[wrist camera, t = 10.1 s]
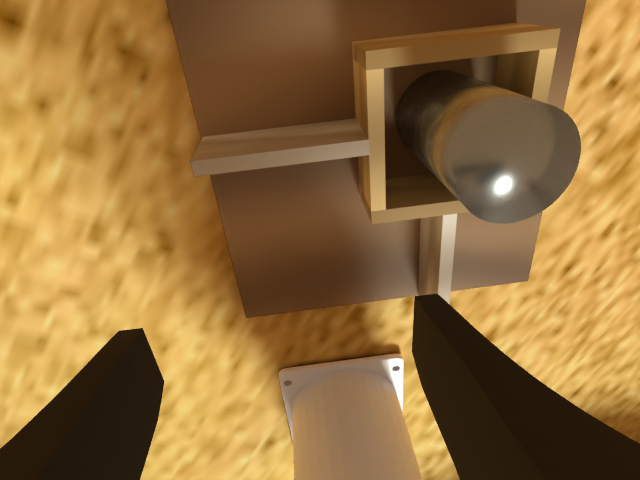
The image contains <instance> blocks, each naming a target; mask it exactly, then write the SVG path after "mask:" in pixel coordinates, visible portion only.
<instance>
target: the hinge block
mask: <svg viewBox="0 0 640 480" xmlns="http://www.w3.org/2000/svg"><path fill="white" fill-rule="evenodd" d="M166 2H167V6H168V10H169V14H170V18H171V22H172V26H173V30H174V34H175V38H176V42H177V46H178V50H179V54H180V58H181V62H182V66H183V70H184V74H185V78H186V81H187V85H188V89H189V93H190V97H191V101H192V105H193V109H194V113H195V117H196V121H197V125H198V129H199V133H200V137H201V141H200V143H199V145H198V147H197V149H196V151H195V153H194V155H193V157H192V158H191V160H190V164H191V167H192V171H193V175H194V177H196V176H204V175H210V176H211V180H212V184H213V188H214V192H215V196H216V200H217V204H218V208H219V212H220V216H221V220H222V224H223V228H224V232H225V236H226V240H227V244H228V248H229V252H230V256H231V260H232V263H233V267H234V271H235V275H236V279H237V283H238V287H239V291H240V295H241V299H242V303H243V307H244V311H245V315H246V318H250V317H257V316H265V315H273V314H280V313H288V312H295V311H303V310H311V309H318V308H326V307H334V306H341V305H349V304H356V303H364V302H372V301H379V300H387V299H395V298H402V297H410V296H418V295H419V296H420V295H429V294H439V295H440V296H441V297H442V298H443V299H444V300H445V301H446V302H447V303H448V304H449V303H450V292H451V291H456V290H463V289H471V288H479V287H486V286H494V285H501V284H509V283H517V282H524V281H528V278H529V273H530V269H531V264H532V259H533V254H534V249H535V244H536V240H537V235H538V230H539V225H540V220H541V216H542V211H541V212H540V213H538V214H536V215H534V216H532V217H530V218H528V219H525V220H522V221H519V222H514V223H507V224H498V223H491V222H487V221H484V220H481V219H479V218H478V217H476V216H474V215H473V214H472V213H471V212H469V210H468V209H467V208H466V207H465V206H464V205H463V204H462V203H461V202H460V201H459V200H458V199H457V198H456V197H455V196H454V195H453V194H452V193H451V192H450V191H449V190H448V189H447V187H446V186H445V185H444V184H443V183H442V182H441V181H440V180H439V179H438V178H437V177H436V176H435V175H434V174H433V173H432V172H431V171H430V170H429V169H428V168H427V167H426V166H425V165H424V163H423V162H422V161H421V160H420V159H419V158H418V157H417V156H416V155H415V154H414V153H413V152H412V151H411V150H410V149H409V148H408V147H407V146H406V145H405V144H404V142H403V141H402V140H401V138H400V136H399V134H398V131H397V128H396V110H397V106H398V103H399V100H400V98H401V96H402V94H403V93H404V91H405V90H406V89H407V87H408V86H409V85H410V84H411V83H412V82H413V81H414V80H416V79H417V78H418V77H420V76H422V75H424V74H426V73H428V72H431V71H435V70H450V71H454V72H457V73H460V74H463V75H466V76H469V77H471V78H474V79H477V80H480V81H483V82H486V83H489V84H492V85H495V86H498V87H501V88H503V89H506V90H509V91H512V92H515V93H518V94H521V95H524V96H527V97H530V98H532V99H535V100H538V101H541V102H544V103H547V104H550V105H553V106H555V107H557V108H559V109H561V110H564V105H565V100H566V95H567V90H568V86H569V81H570V76H571V71H572V66H573V62H574V57H575V52H576V47H577V42H578V37H579V33H580V28H581V23H582V18H583V13H584V9H585V4H586V0H166Z"/></svg>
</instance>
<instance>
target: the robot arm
mask: <svg viewBox="0 0 640 480" xmlns="http://www.w3.org/2000/svg"><path fill="white" fill-rule="evenodd" d="M412 353H413V357H414V360H415V364H416V367H417V371H418V374H419V378H420V381H421V385H422V388H423V390H424V393H425V395H426V398H427V400H428V402H429V405H430V407H431V410H432V412H433V415H434V417H435V419H436V422H437V424H438V427H439V429H440V431H441V434H442V436H443V439H444V441H445V443H446V446H447V448H448V450H449V453H450V455H451V458H452V460H453V462H454V465H455V467H456V470H457V473H458V475H459V478H460V480H640V444H639V443H637V442H635V441H634V440H632V439H630V438H628V437H626V436H625V435H623V434H621V433H620V432H618V431H616V430H615V429H613V428H611V427H609V426H608V425H606V424H604V423H603V422H601V421H599V420H598V419H596V418H594V417H593V416H591V415H589V414H588V413H586V412H585V411H583V410H581V409H580V408H578V407H577V406H575V405H574V404H572V403H571V402H569V401H568V400H566V399H565V398H563V397H562V396H560V395H559V394H557V393H556V392H554V391H553V390H551V389H550V388H549V387H547V386H546V385H544V384H543V383H541V382H540V381H539V380H537V379H536V378H535V377H533V376H532V375H531V374H529V373H528V372H527V371H526V370H524V369H523V368H522V367H520V366H519V365H518V364H517V363H515V362H514V361H513V360H512V359H510V358H509V357H508V356H507V355H505V354H504V353H503V352H502V351H501V350H499V349H498V348H497V347H496V346H495V345H494V344H492V343H491V342H490V341H489V340H488V339H487V338H485V337H484V336H483V335H482V334H481V333H480V332H479V331H477V330H476V329H475V328H474V327H473V326H472V325H471V324H470V323H469V322H468V321H467V320H465V319H464V318H463V317H462V316H461V315H460V314H459V313H458V312H457V311H456V310H455V309H454V308H453V307H452V306H451V305H449V304H448V303H447V302H446V301H445V300H444V299H443V298H442V297H441V296H440V295H439V294H429V295H420V296H415V302H414V322H413V342H412ZM394 366H396V367H394ZM403 378H404V361H403V358H402V356H401V355H400V354H388V355H380V356H373V357H366V358H358V359H351V360H343V361H336V362H328V363H321V364H313V365H306V366H298V367H291V368H285V369H282V370H280V372H279V382H280V386H281V391H282V395H283V400H284V404H285V409H286V413H287V418H288V423H289V427H290V432H291V436H292V441H293V454H294V480H422V477H421V474H420V470H419V467H418V464H417V460H416V457H415V453H414V450H413V446H412V443H411V440H410V436H409V433H408V429H407V426H406V423H405V419H404V416H403ZM163 386H164V380H163V377H162V375H161V372H160V370H159V367H158V365H157V363H156V360H155V358H154V355H153V353H152V350H151V348H150V345H149V343H148V340H147V338H146V336H145V333H144V331H143V328H140V329H131V330H123V331H118V332H117V333H116V334H115V335H114V336H113V337H112V338H111V339H110V340H109V341H108V342H107V344H106V345H105V346H104V347H103V348H102V349H101V350H100V351H99V352H98V353H97V354H96V355H95V356H94V357H93V358H92V359H91V360H90V361H89V362H88V364H87V365H86V366H85V367H84V368H83V369H82V370H81V371H80V372H79V373H78V374H77V375H76V376H75V377H74V378H73V379H72V380H71V381H70V382H69V383H68V384H67V385H66V386H65V387H64V388H63V389H62V390H61V392H60V393H59V394H58V395H57V396H56V397H55V398H54V399H53V400H52V401H51V402H50V403H48V404H47V405H46V406H45V407H44V408H43V409H42V410H41V411H40V412H39V413H38V414H37V415H36V416H35V417H34V418H33V419H32V420H31V421H30V422H29V423H28V424H27V425H26V426H25V427H24V428H22V429H21V430H20V431H19V432H18V433H17V434H16V435H15V436H14V437H13V438H12V439H11V440H10V441H9V442H7V443H6V444H5V445H4V446H3V447H2V448H1V449H0V480H140V477H141V474H142V471H143V468H144V464H145V461H146V458H147V455H148V451H149V448H150V445H151V441H152V438H153V434H154V431H155V428H156V424H157V421H158V416H159V410H160V405H161V399H162V392H163Z"/></svg>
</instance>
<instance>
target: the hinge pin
mask: <svg viewBox="0 0 640 480" xmlns="http://www.w3.org/2000/svg"><path fill="white" fill-rule="evenodd" d="M396 128H397V131H398V134H399V136H400V138H401V140H402V141H403V142H404V144H405V145H406V146H407V147H408V148H409V149H410V150H411V151H412V152H413V153H414V154H415V155H416V156H417V157H418V158H419V159H420V160H421V161H422V162H423V163H424V165H425V166H426V167H427V168H428V169H429V170H430V171H431V172H432V173H433V174H434V175H435V176H436V177H437V178H438V179H439V180H440V181H441V182H442V183H443V184H444V185H445V186H446V187H447V189H448V190H449V191H450V192H451V193H452V194H453V195H454V196H455V197H456V198H457V199H458V200H459V201H460V202H461V203H462V204H463V205H464V206H465V207H466V208H467V209H468V210H469V212H471V213H472V214H473V215H474V216H476V217H478V218H479V219H481V220H484V221H487V222H491V223H498V224H507V223H514V222H519V221H522V220H525V219H528V218H530V217H532V216H534V215H536V214H538V213H540V212H541V211H543V210H545V209H546V208H547V207H549V206H550V205H551V204H552V203H553V202H554V201H556V200H557V199H558V198H559V197H560V195H561V194H562V193H563V192H564V191H565V189H566V188H567V187H568V185H569V183H570V182H571V180H572V178H573V176H574V174H575V172H576V170H577V166H578V163H579V159H580V152H581V142H580V136H579V132H578V129H577V127H576V125H575V123H574V122H573V120H572V119H571V118H570V117H569V115H568V114H567V113H565V112H564V111H563V110H561V109H559V108H557V107H555V106H553V105H550V104H547V103H544V102H541V101H538V100H535V99H532V98H530V97H527V96H524V95H521V94H518V93H515V92H512V91H509V90H506V89H503V88H501V87H498V86H495V85H492V84H489V83H486V82H483V81H480V80H477V79H474V78H471V77H469V76H466V75H463V74H460V73H457V72H454V71H450V70H435V71H431V72H428V73H426V74H424V75H422V76H420V77H418V78H417V79H416V80H414V81H413V82H412V83H411V84H410V85H409V86H408V87H407V89H406V90H405V91H404V93H403V94H402V96H401V98H400V100H399V103H398V106H397V110H396Z"/></svg>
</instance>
